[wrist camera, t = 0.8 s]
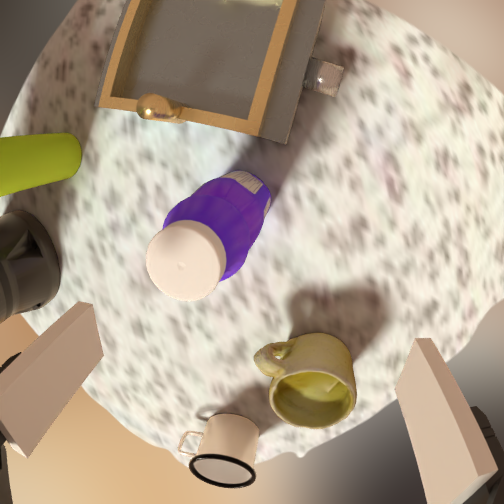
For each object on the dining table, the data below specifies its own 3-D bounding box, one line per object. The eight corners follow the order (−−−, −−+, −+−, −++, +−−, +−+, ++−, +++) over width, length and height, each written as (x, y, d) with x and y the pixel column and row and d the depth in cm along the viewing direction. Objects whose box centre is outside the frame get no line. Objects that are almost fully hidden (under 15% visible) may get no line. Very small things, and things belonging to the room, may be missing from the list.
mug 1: (264, 413, 41) (256, 462, 32) (261, 448, 44) (255, 492, 36) (184, 402, 42) (165, 447, 34) (191, 438, 46) (176, 478, 37)
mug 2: (382, 369, 34) (363, 430, 26) (317, 389, 40) (288, 442, 32) (331, 290, 34) (298, 341, 26) (267, 322, 40) (225, 368, 32)
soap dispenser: (79, 120, 30) (-62, 128, 12) (83, 175, 33) (-55, 217, 14) (47, 130, 31) (-83, 146, 13) (51, 181, 34) (-76, 222, 15)
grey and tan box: (124, 113, 30) (51, 107, 19) (160, -4, 25) (107, -50, 13) (315, 157, 29) (328, 163, 18) (351, 26, 24) (377, -29, 13)
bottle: (238, 157, 30) (171, 173, 14) (283, 192, 31) (270, 249, 14) (197, 213, 32) (108, 282, 16) (240, 246, 33) (188, 344, 17)
